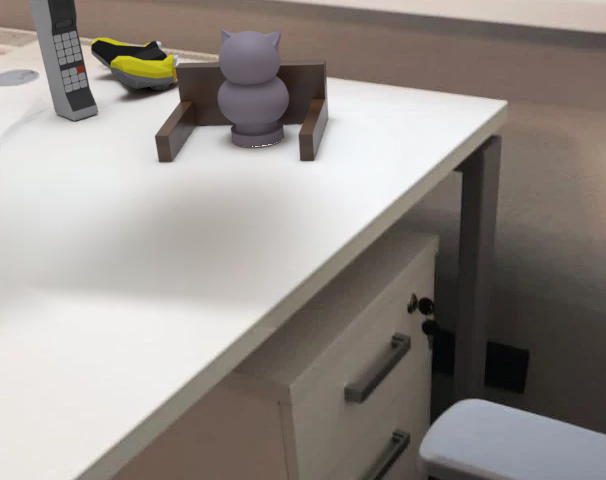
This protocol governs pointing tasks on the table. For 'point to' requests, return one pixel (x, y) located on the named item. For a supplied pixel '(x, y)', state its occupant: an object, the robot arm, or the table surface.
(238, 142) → the cat figurine
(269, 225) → the table surface
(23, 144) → the table surface
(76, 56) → the vintage mobile phone
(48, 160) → the table surface
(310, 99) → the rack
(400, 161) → the table surface
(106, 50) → the black and yellow sneaker
